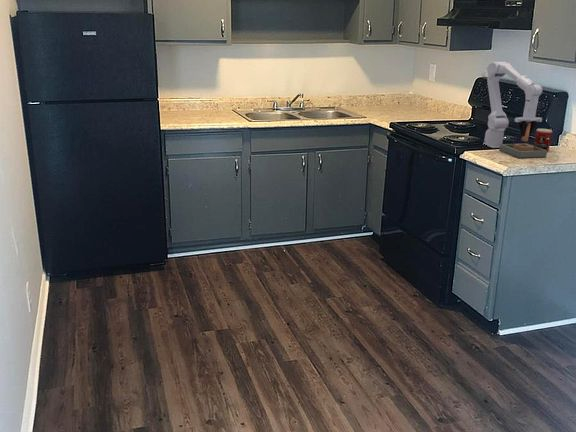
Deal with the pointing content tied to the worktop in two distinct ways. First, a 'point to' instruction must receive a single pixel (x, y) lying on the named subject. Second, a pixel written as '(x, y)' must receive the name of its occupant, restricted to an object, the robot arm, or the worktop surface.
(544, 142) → the canned food
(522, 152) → the tray
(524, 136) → the peg
